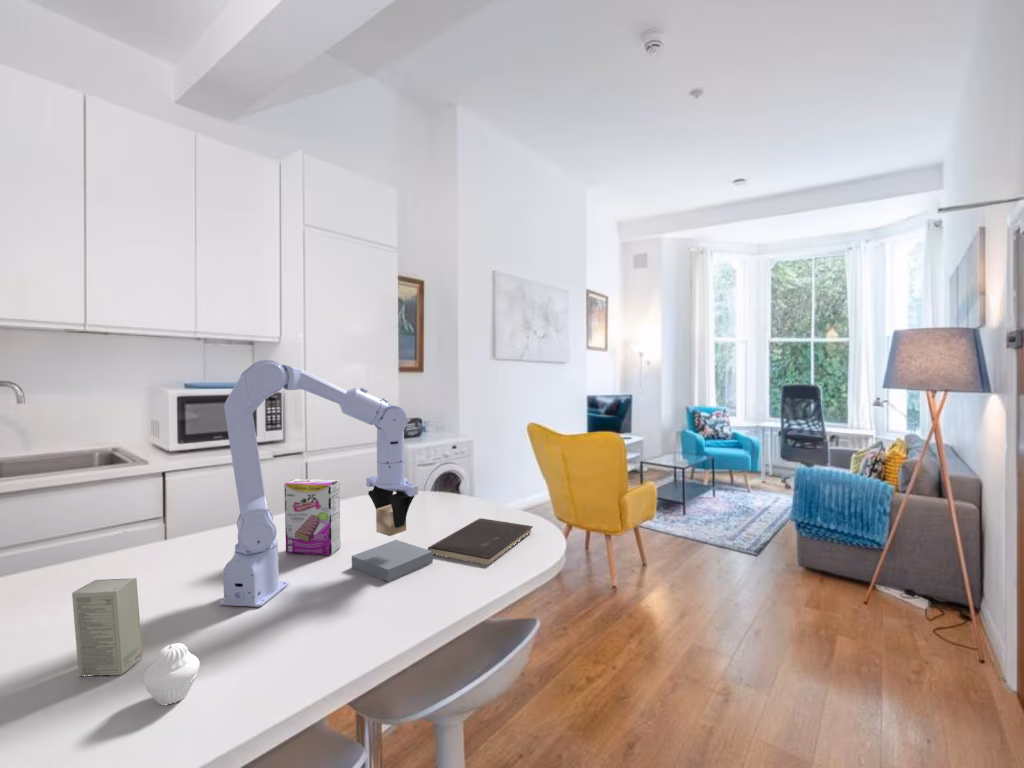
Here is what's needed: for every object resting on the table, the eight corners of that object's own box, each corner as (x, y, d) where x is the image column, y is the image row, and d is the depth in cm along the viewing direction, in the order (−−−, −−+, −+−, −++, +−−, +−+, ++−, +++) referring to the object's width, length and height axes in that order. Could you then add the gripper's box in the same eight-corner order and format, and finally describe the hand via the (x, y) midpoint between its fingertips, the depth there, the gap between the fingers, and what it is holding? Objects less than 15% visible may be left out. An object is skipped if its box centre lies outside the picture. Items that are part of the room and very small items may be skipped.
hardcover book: (532, 535, 127) (532, 526, 127) (489, 568, 107) (489, 558, 107) (478, 526, 134) (477, 517, 134) (427, 556, 114) (427, 546, 114)
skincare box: (143, 658, 74) (140, 577, 74) (121, 676, 70) (117, 591, 69) (99, 659, 74) (96, 578, 73) (74, 678, 70) (70, 592, 69)
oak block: (406, 530, 108) (405, 507, 107) (389, 536, 104) (389, 512, 104) (392, 526, 110) (392, 503, 110) (376, 531, 107) (376, 508, 106)
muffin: (211, 686, 68) (210, 635, 67) (170, 717, 62) (168, 662, 61) (175, 679, 69) (173, 629, 69) (131, 709, 63) (129, 654, 63)
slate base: (432, 562, 109) (432, 551, 109) (388, 582, 99) (388, 569, 99) (396, 550, 116) (396, 539, 116) (351, 567, 106) (351, 555, 106)
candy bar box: (284, 554, 114) (282, 483, 113) (296, 546, 119) (294, 478, 118) (331, 556, 113) (330, 484, 112) (341, 548, 118) (340, 478, 117)
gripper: (428, 461, 105) (429, 525, 106) (384, 454, 114) (385, 513, 115) (402, 467, 100) (403, 534, 100) (357, 459, 109) (359, 521, 109)
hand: (391, 524), depth 107 cm, fingers closed on oak block, 4 cm apart
